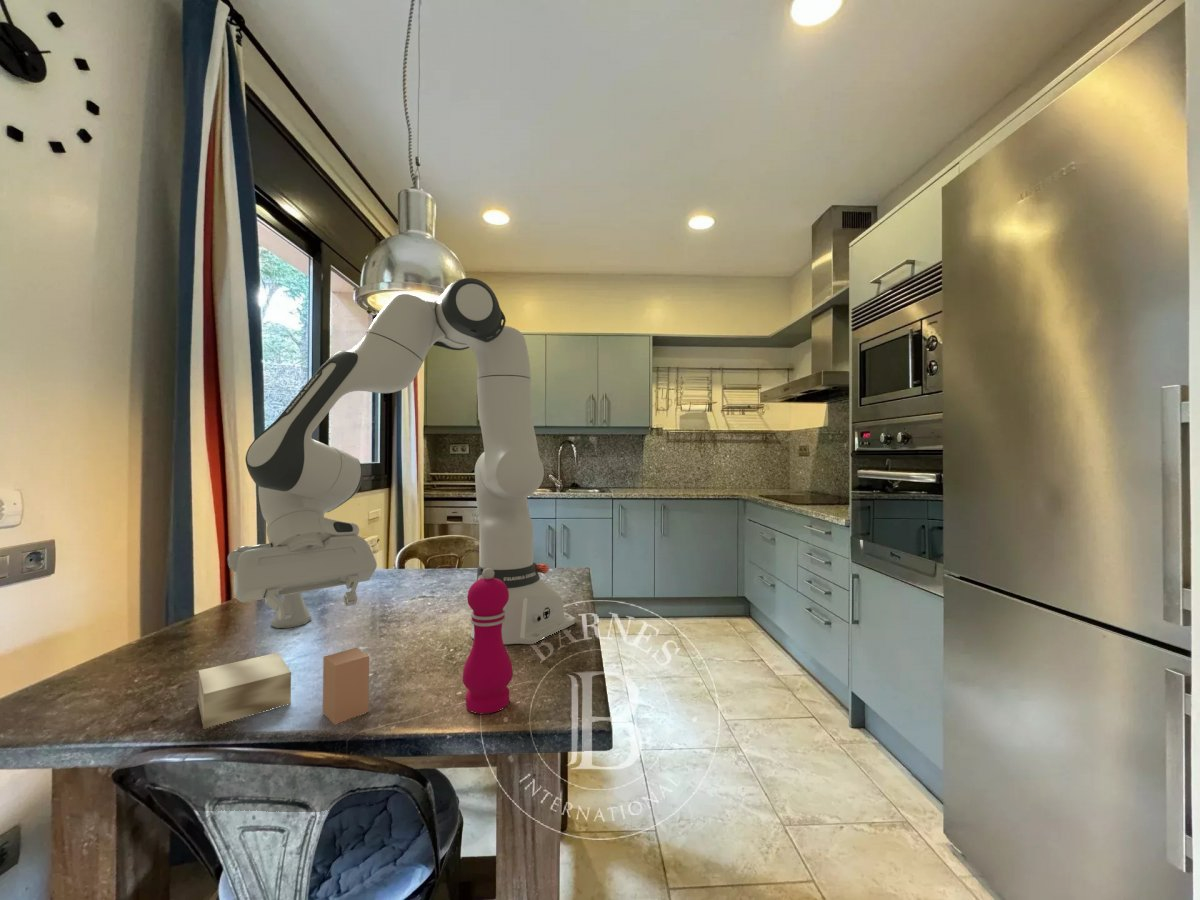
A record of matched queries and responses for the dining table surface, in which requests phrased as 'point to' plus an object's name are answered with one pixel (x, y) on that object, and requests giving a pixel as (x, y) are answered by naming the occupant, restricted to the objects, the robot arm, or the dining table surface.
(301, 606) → the flask
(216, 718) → the birch block
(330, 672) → the terracotta block
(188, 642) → the dining table surface
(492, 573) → the pepper mill
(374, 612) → the dining table surface
